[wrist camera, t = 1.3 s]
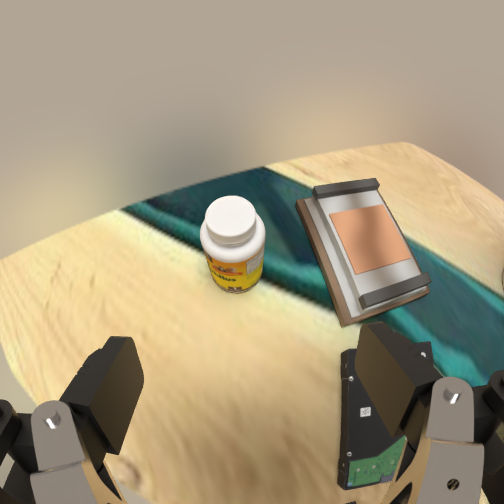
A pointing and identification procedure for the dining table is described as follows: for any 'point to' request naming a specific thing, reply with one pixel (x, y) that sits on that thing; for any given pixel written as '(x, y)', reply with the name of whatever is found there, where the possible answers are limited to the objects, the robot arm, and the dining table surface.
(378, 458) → the disk drive
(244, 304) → the dining table surface
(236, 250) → the supplement bottle
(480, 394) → the robot arm
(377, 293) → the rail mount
